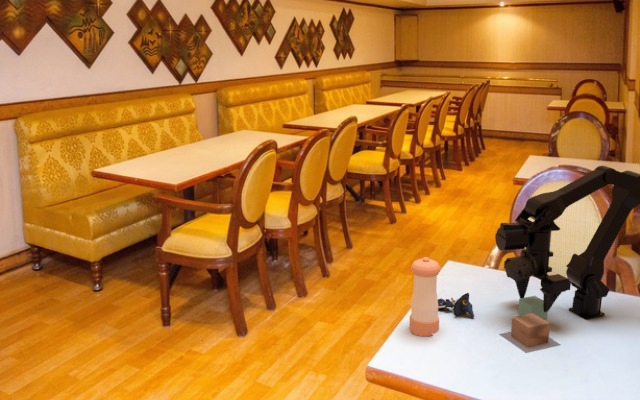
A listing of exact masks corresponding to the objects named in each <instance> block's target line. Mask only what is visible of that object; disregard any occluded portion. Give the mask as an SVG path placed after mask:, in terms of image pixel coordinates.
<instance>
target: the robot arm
mask: <svg viewBox="0 0 640 400" xmlns="http://www.w3.org/2000/svg"><path fill="white" fill-rule="evenodd" d="M608 185H612V186H613V187H612V189H611V190H612V191H611V192H612V193H611V199H612V200H611V203H610V205H609V207H608V208H607V210H606V212H605V214H604V216H603V217H602V219H601V220H600V221H601V222H600V223H599V225H598V226H597V229H596V230H595V233H594V234H593V236H592V238H591V240H590V241H589V244H588V245H587V246H586V249H585V250H584V251H583V252H581V253H579V254H577V253H573V254H572V255H571V258H570V261H569V262H568V264H566V266H565V267H566V268H567V269H566V271H565V272H566V273H565V274H566V276H567V277H565V276H564V275H561V274H559V273H557V274H552V275H549V274H548V273H552V272H553V267H551V266H550V265H549V264H550V258H552V257H554V252H553V251H551V241H552V232H555V231H557V232H558V231H561V228H560V227H559V226H558V225H557V224H556V222H555V221H556V220H557V219H558V218H560V216H562V215H563V213H564V212H565V211H566V209H567V208H568V207H570V206H572V205H573V204H575V203H577V202H579V201H581V200H582V199H584V198H587V197H588V196H590V195H591V194H593V193H595V192H598V190H600V189H603V188H604V187H606V186H608ZM638 206H640V173H638V172H636V171H632V170H624V171H618V170H616V169H615V168H613V167H610V166H608V165H607V166H606V165H599V166H597V167H595V168H594V169H593V170H592V171H589V172H588V173H585V175H582V176H581V177H579V178H577V179H575V180H573V181H572V182H570V183H568V184H566V185H564V186H563V187H560V188H559V189H557V190H553V191H548V192H543V193H542V192H541V193H540V194H537V195H534V196H531V197H530V198H528V199H527V200H526V203H525V206H524V208H523V209H522V210H521V212H520V213H519V214H518V215H517V217H516V218H515V220H514V221H515V222H500V224H499V227H498V228H497V229H496V232H495V245H496V247H497V249H498V250H499V251H501V252H502V251H513V250H521V251H520V255H517V256H513V257H507V258H506V259H505V260H504V261H503V262H504V264H503V269H504V271H505V273H506V277H507V278H509V279H512V280H513V282H515V285H516V289H517V293H518V296H519V299H520V298H525V296H526V293H527V290H528V286H529V282H530V278H531V277H534V278H536V279H538V280H540V287H541V288H539V290H540V291H541V293H542V294H543V299H542V300H543V309H544V312H547V313H549V311H550V310H551V309H552V306H553V305H554V303H555V302H556V301H557V299H558V298H559V296H560V295H561V294H562V293H564V292H566V291H570V290H571V286H572V287H573V288H575V290H574V296H573V298H572V299H573V300H572V307H568V311H569V312H571V313H573V314H575V315H577V316H578V317H581V318H582V319H584V320H591V319H595V318H600V317H605V316H606V313H605V312H603V311H602V309H601V308H602V301H603V298H606V297H607V296H608V294H609V293H610V288H609V287H608V286H607V285H606V284H605V283H604V282H603V281H602V279H603V278H604V277H603V276H604V274H605V259H606V257H607V256H608V253H609V252H610V250H611V248H612V246H613V244H614V243H615V241H616V239H617V238H618V236H619V234H620V232H621V230H622V228H623V227H624V225H625V223H626V221H627V219H628V217H629V216H630V214H631V212H632V211H633V210H634V209H635V208H637V207H638ZM530 219H532V220H533V221H532V220H530Z"/></svg>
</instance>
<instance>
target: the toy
mask: <svg viewBox="0 0 640 400" xmlns="http://www.w3.org/2000/svg"><path fill="white" fill-rule="evenodd" d="M437 299H438V311H439V310H440V311H441V310H444V309H447V308H449V309H453V310H452V311H453V315H454V316H455V317H459V316H461V315H465V313H467V314H468V315H469V316H470V317H471V319H472V320H473V319H474V317H475V313H474V310H473V304H472V303H471V302H470V293H469V292H466V293H464V294H463V295H461V296H460V297H459V298H456V299H454V298H453V297H450V299H449V298H446V299H444V298H437Z"/></svg>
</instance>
